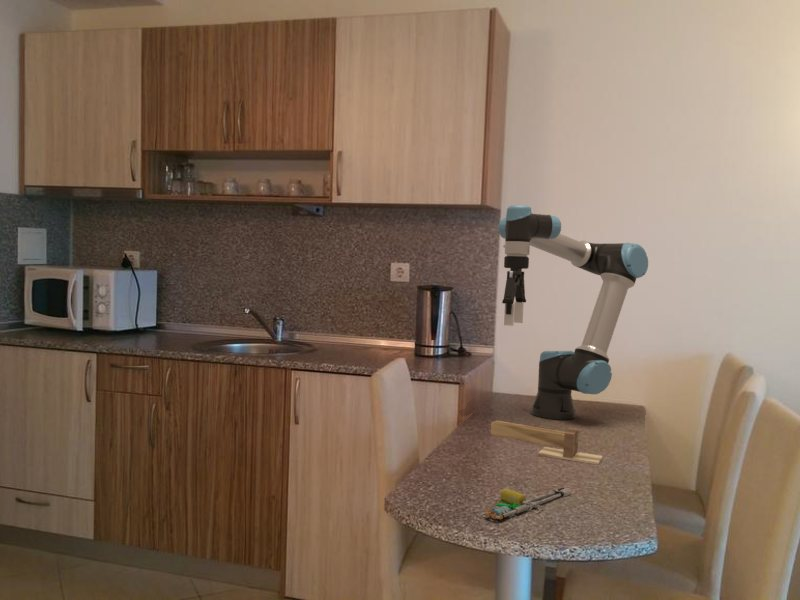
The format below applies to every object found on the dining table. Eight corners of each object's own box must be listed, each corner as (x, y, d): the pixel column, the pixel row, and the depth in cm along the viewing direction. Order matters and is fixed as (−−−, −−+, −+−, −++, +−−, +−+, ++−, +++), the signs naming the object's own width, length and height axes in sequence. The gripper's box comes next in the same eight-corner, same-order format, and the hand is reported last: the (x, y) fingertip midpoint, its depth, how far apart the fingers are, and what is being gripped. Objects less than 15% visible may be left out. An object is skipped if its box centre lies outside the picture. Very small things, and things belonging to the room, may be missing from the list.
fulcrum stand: (544, 449, 194) (545, 424, 194) (602, 457, 188) (604, 432, 187) (537, 455, 187) (539, 429, 187) (598, 464, 180) (600, 438, 180)
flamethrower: (465, 512, 138) (507, 529, 131) (466, 499, 138) (509, 515, 131) (539, 487, 160) (578, 500, 153) (540, 475, 160) (580, 488, 153)
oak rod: (495, 433, 212) (496, 420, 212) (572, 446, 200) (573, 433, 200) (490, 435, 209) (491, 422, 209) (568, 449, 196) (568, 435, 196)
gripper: (513, 256, 226) (510, 320, 227) (495, 254, 203) (491, 325, 204) (536, 257, 224) (533, 322, 225) (520, 254, 200) (517, 327, 201)
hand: (513, 324), depth 214 cm, fingers open, 13 cm apart
